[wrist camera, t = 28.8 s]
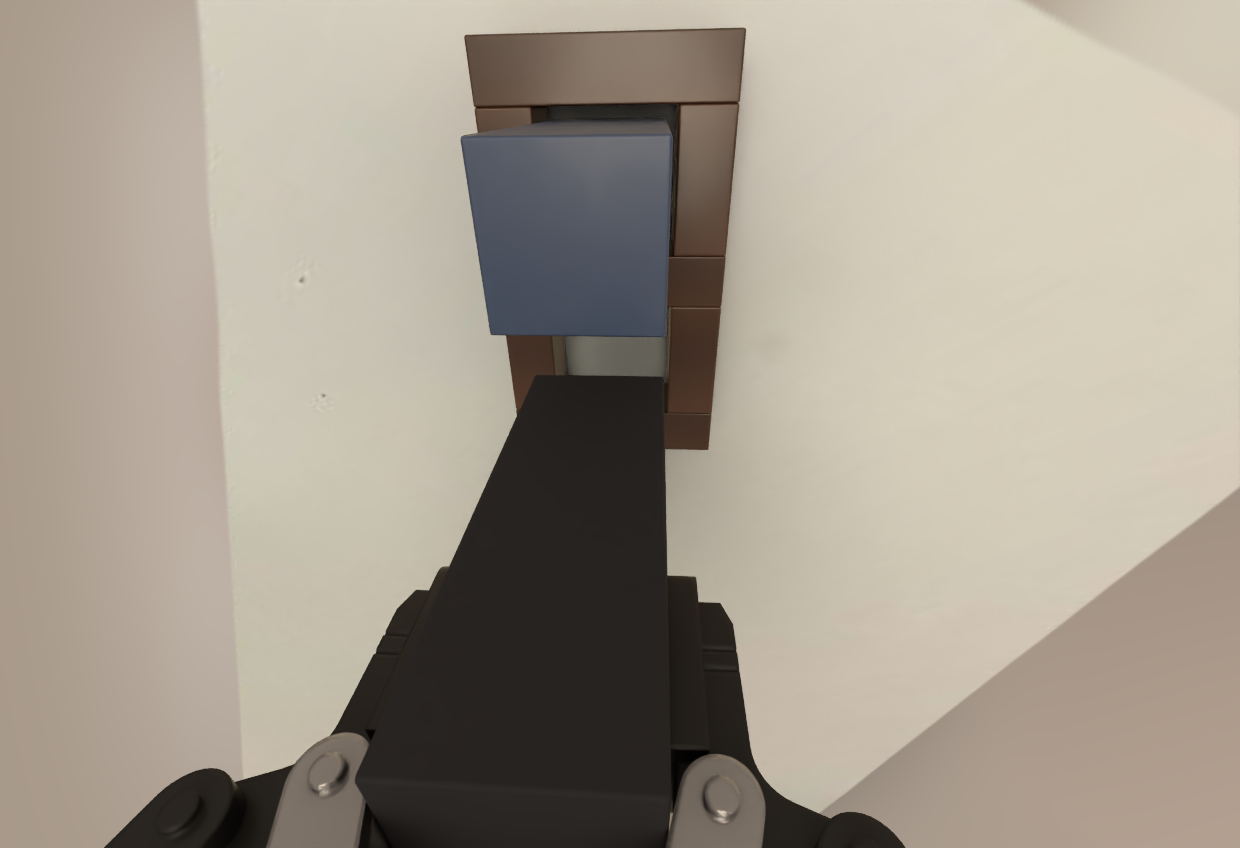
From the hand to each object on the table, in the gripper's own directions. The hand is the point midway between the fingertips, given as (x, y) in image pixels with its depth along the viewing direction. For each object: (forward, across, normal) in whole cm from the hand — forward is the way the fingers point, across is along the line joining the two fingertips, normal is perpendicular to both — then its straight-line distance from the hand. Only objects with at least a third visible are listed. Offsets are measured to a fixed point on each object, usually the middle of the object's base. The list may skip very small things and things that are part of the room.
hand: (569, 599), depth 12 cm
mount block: (+16, 0, -4) cm, 16 cm away
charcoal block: (+7, 0, 0) cm, 7 cm away
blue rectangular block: (+16, 0, -7) cm, 17 cm away
